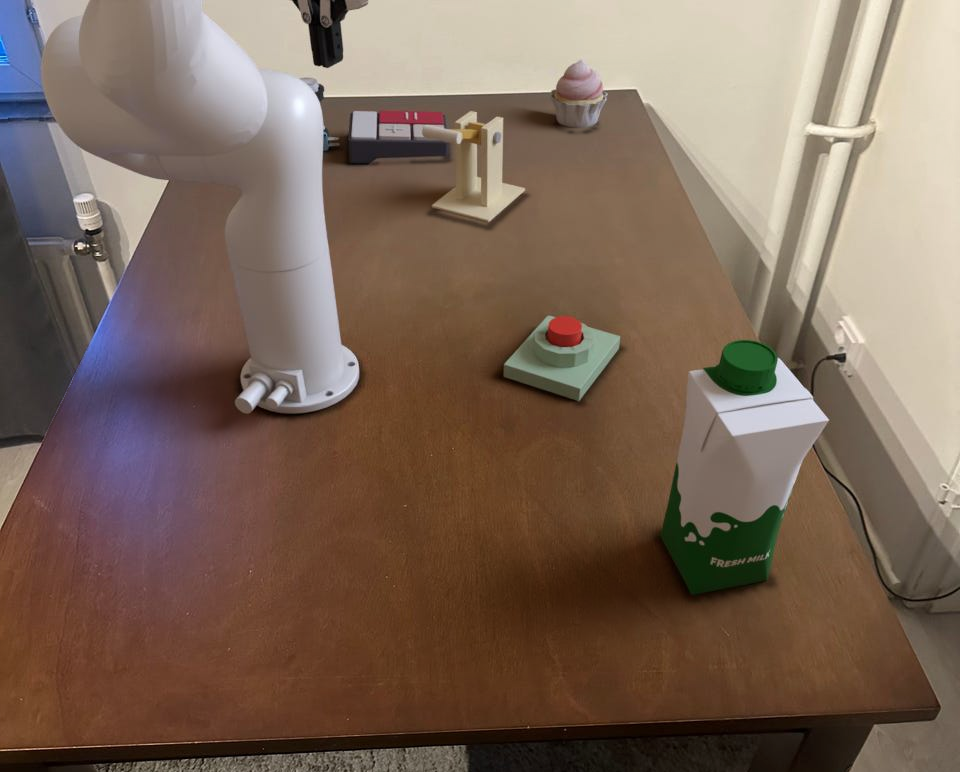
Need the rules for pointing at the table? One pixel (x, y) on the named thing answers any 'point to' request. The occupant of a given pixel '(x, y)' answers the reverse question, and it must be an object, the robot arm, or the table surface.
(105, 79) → the robot arm
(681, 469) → the milk carton
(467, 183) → the switch bracket
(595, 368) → the switch box
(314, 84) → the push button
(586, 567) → the table surface
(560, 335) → the red button
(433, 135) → the switch lever
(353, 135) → the calculator
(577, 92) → the cupcake
